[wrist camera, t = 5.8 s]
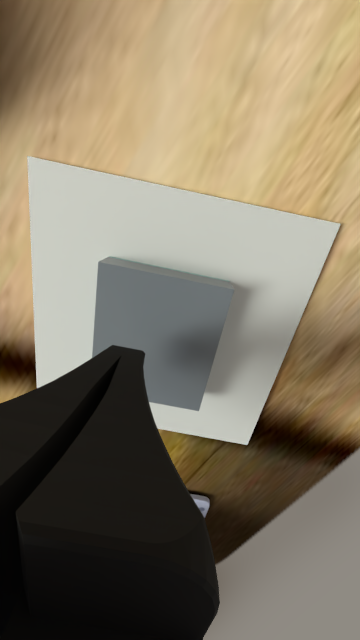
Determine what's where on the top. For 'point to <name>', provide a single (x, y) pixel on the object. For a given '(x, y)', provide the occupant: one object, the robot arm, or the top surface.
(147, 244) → the mat
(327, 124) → the top surface
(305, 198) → the top surface
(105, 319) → the tile
